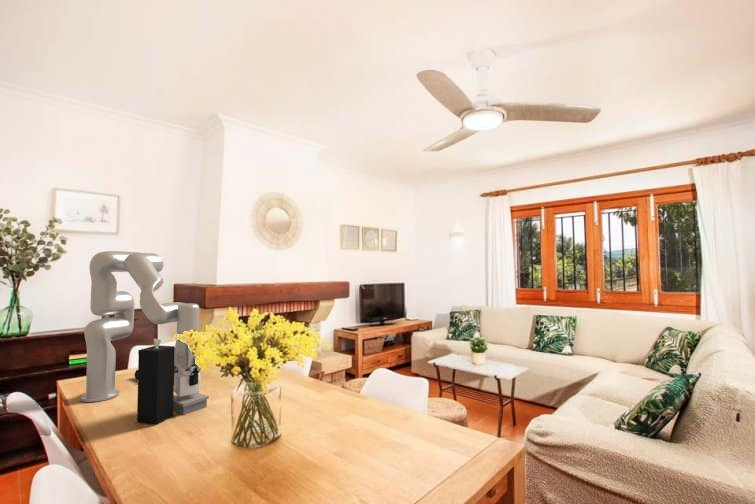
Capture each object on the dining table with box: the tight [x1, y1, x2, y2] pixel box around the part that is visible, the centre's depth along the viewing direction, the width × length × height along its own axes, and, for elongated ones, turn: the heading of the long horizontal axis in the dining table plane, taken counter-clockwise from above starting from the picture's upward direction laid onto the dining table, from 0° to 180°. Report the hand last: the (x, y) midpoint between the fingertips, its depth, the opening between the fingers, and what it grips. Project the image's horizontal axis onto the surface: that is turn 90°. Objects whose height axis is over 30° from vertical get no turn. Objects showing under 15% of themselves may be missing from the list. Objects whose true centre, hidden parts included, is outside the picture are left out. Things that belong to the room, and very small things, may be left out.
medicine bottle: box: [174, 364, 201, 397], centre depth 141 cm, size 7×7×12 cm
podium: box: [173, 392, 210, 416], centre depth 141 cm, size 12×10×4 cm
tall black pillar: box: [136, 338, 175, 426], centre depth 130 cm, size 8×8×28 cm
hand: (186, 382), depth 141 cm, fingers closed on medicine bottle, 8 cm apart
